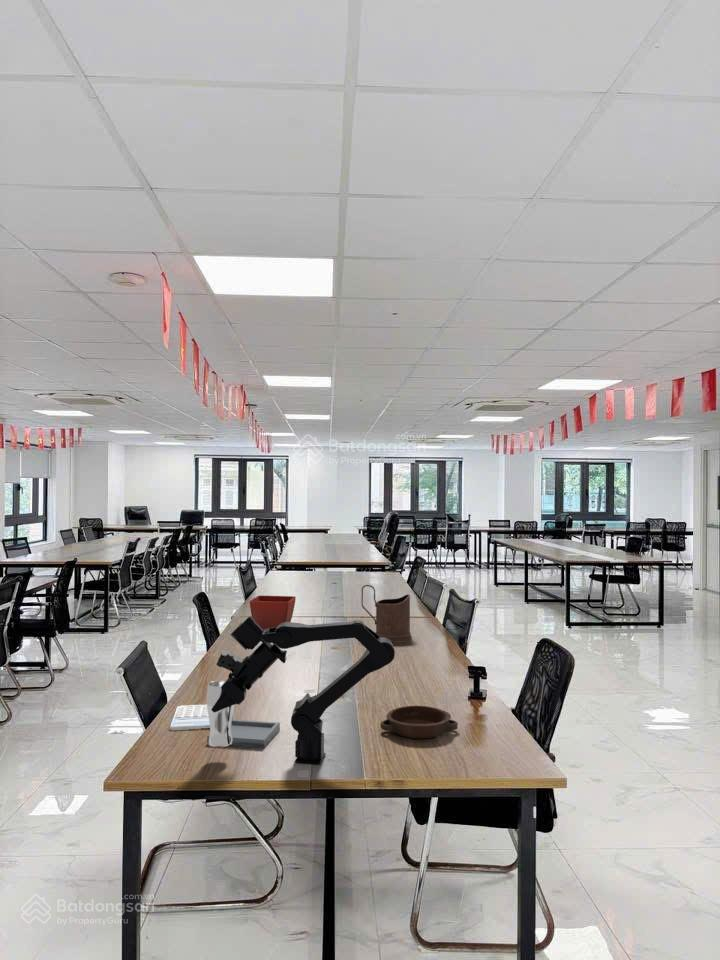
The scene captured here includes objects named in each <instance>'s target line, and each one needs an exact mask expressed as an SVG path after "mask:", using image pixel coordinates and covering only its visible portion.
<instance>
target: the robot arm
mask: <svg viewBox="0 0 720 960" xmlns="http://www.w3.org/2000/svg"><path fill="white" fill-rule="evenodd" d="M375 632H376V631H374V630H372V629H371V628H369V626H367V625H366V624H365V623H364V622H363V621H361V620H360V619H356V620H352V621H343V622H332V623H331V622H330V623H319V624H304V623H301V622H283V623H281V624H280V625H279V626H278V627H274V628H267V629H265V630H263V629H262V628H261V627H260V626H259V625H258V624H257V623H256V622H255V620H254V619H253V618H252V615H249V616H248V617H247V618H246V619H244V620H243V622H241V623H240V624H239V625H238V626H237V627H236V628H235V629H234V630H233V631H232V632H231V633H230V636H231V637H232V638H233V639H234V641H236V642H237V643H238V644H239V645H240V646H241V647H242V648H243V649H244V650H245V651H246V650H248V651H249V650H251V651H253V649H255V647H257V646H258V644H259V646H258V647H257V648H256V649H255V650H254V651H253V652H252V653H251V654H249V655H246V656H245V657H244V658H243V657H241V656H239V655H237V654H235V653H233V652H230V651H228V650H226V649H225V650H224V649H223V650H222V651H221V652H220V655H219V658H218V659H217V661H216V664H215V665H216V666H217V667H218V668H223V669H226V670H228V671H230V672H229V674H228V678H227V679H225V680H226V681H225V682H224V683H223V685H222V686H221V689H222V694H221V696H220V697H219V699H218V700H217V702H216V703H215V705H214V706H213V708H212V709H211V710H212V711H213V712H214V713H215V712H217V711H219V710H222V709H224V708H227V707H229V706H232V705H234V706H235V705H241V704H242V702H243V701H245V699H246V697H247V691H249V690H250V689H251V688H252V686H253V685H254V684H255V683H256V682H257V681H258V680H260V679H261V678H262V677H263V676H264V673H266V672H267V671H268V670H269V668H271V667H272V665H274V664H275V663H276V661H278V659H279V661H280V662H281V663H282V664H285V663H286V661H287V652H288V651H287V649H291V648H294V647H299V646H301V645H304V644H306V643H310V642H311V643H312V642H319V641H320V642H321V641H330V640H331V641H332V640H345V639H355V640H357V641H358V642H359V643H360V644H361V645H362V646H363V647H364V648H365V649H366V650H365V651H364V652H363V654H362V656H361V657H360V658H359V659H358V660H357V661H356V662H355V663H354V664H352V665H351V666H350V667H349V668H348V669H347V670H345V671H344V672H343V673H341V675H339V676H338V677H337V678H335V679H334V680H333V681H332V682H331V683H329V684H328V685H327V686H326V687H325V688H324V689H322V690H321V691H320V692H319V693H317V694H315V695H313V696H311V695H310V693H309V692H307V693H306V694H305V695H304V696H303V698H302V699H300V700H297V701H296V702H295V705H294V708H293V709H292V715H291V718H290V725H291V728H292V729H293V730H294V731H296V732H297V739H296V740H295V741H294V743H295V747H294V749H295V750H294V751H295V753H294V756H295V757H294V758H295V763H299V764H300V763H301V764H313V765H320V764H321V763H322V762H323V761H324V759H325V757H326V756H327V755H326V754H327V753H326V752H325V733H324V732H323V723H324V722H323V719H321V718H322V716H323V714H324V713H325V711H326V710H327V709H328V708H329V707H330V706H332V705H333V703H336V702H337V700H339V699H340V698H341V697H343V696H344V695H345V694H346V693H347V692H348V691H350V690H351V689H352V688H353V687H354V686H355V685H356V684H358V683H360V682H361V681H362V679H364V678H365V677H367V676H368V675H369V674H371V673H373V672H376V671H378V670H380V669H382V668H384V667H386V666H387V665H389V664H391V663H392V661H394V659H395V653H396V651H395V648H394V644H393V643H392V642H391V641H390V640H389V639H387V638H385V637H380V636H379V635H378V634H376V633H375Z"/></svg>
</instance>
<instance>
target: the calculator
mask: <svg viewBox="0 0 720 960" xmlns="http://www.w3.org/2000/svg"><path fill="white" fill-rule="evenodd" d="M172 717H173V718H172V720H171V724H170V726H169V730H170V731H190V730H189V729H195V730H202V729H201V728H210V723H209V717H208V711H207V703H206V704H187V705H178V706H177V707H176V709H175V713H174V715H173V716H172Z"/></svg>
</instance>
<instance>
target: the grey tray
mask: <svg viewBox="0 0 720 960" xmlns="http://www.w3.org/2000/svg"><path fill="white" fill-rule="evenodd" d="M280 729H281V722H274V721H259V720H244V719H243V720H242V719H232V725H231V732H232V738H233V743H232V744H231V745H236V746H235V747H241V746H245V747H246V748H258V749H265V748H266V747H267V745H268V744H270V742H271V741H273V739H274V738H275V736H277V735H278V733H280V731H281V730H280ZM209 737H210V733H209V734H208V735H207V737H206V741H207V742H206V744H207V743H208V742H209ZM273 737H274V738H273ZM245 747H244V748H245Z"/></svg>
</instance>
